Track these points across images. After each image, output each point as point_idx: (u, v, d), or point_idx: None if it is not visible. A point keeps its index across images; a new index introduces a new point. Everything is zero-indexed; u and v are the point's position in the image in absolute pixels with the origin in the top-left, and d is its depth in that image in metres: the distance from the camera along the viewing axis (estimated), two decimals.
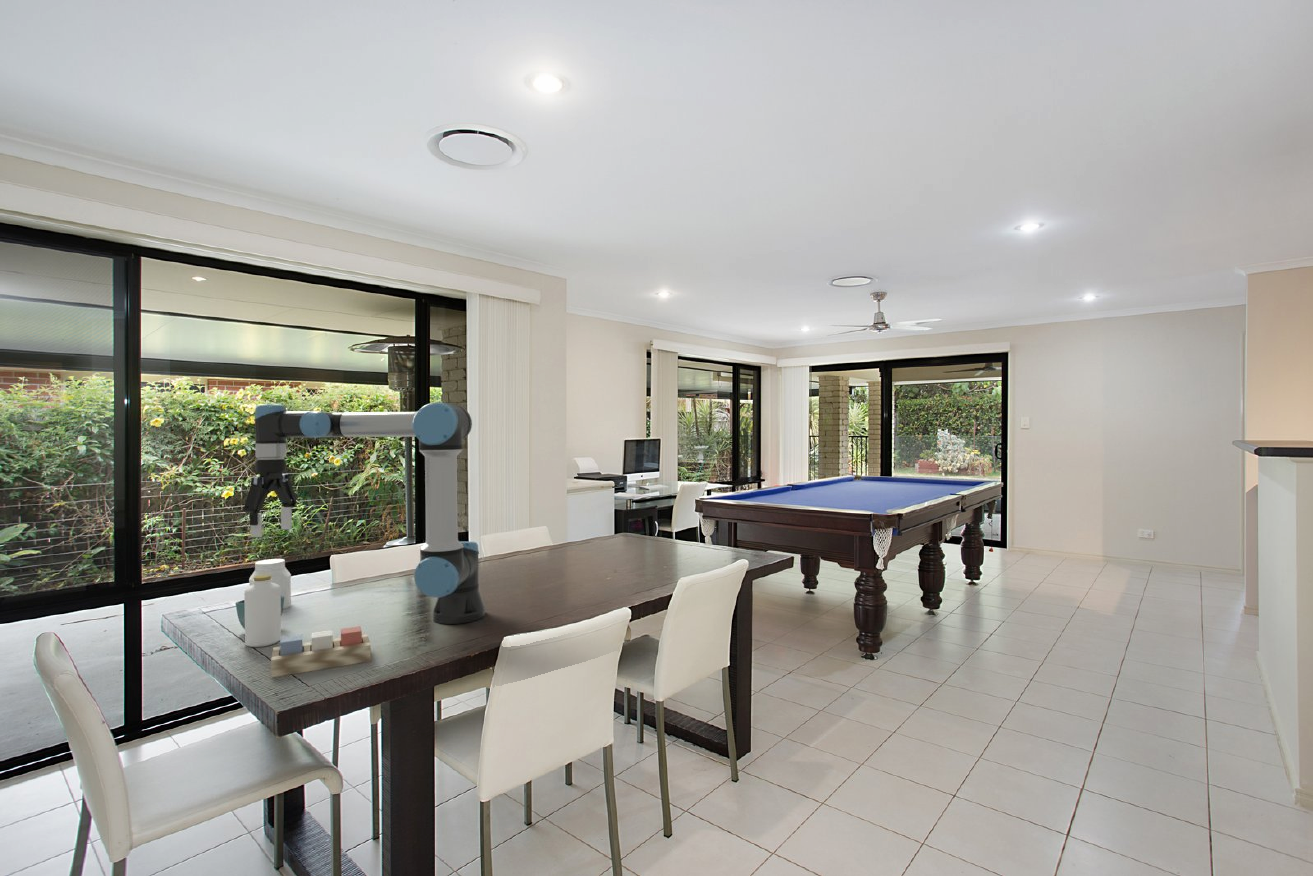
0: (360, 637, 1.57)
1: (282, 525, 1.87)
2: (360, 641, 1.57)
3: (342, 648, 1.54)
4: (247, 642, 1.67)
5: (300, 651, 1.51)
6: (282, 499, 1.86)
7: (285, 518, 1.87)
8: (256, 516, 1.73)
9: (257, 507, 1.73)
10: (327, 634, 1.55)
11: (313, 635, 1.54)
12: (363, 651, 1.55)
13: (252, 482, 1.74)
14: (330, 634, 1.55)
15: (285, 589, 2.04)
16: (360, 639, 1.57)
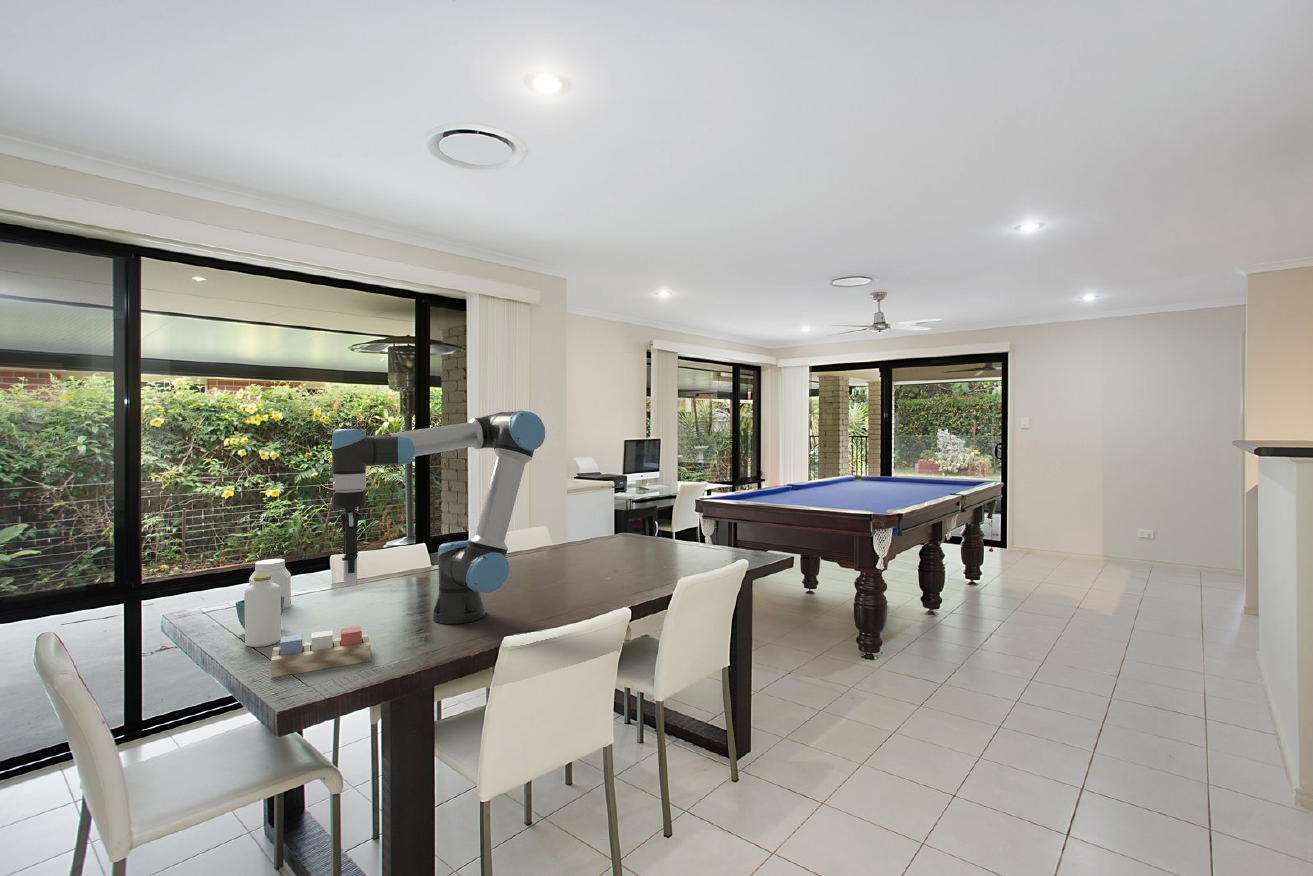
0: (360, 637, 1.57)
1: None
2: (360, 641, 1.57)
3: (342, 648, 1.54)
4: (247, 642, 1.67)
5: (300, 651, 1.51)
6: None
7: None
8: None
9: None
10: (327, 634, 1.55)
11: (313, 635, 1.54)
12: (363, 651, 1.55)
13: (347, 525, 1.52)
14: (330, 634, 1.55)
15: (285, 589, 2.04)
16: (360, 639, 1.57)
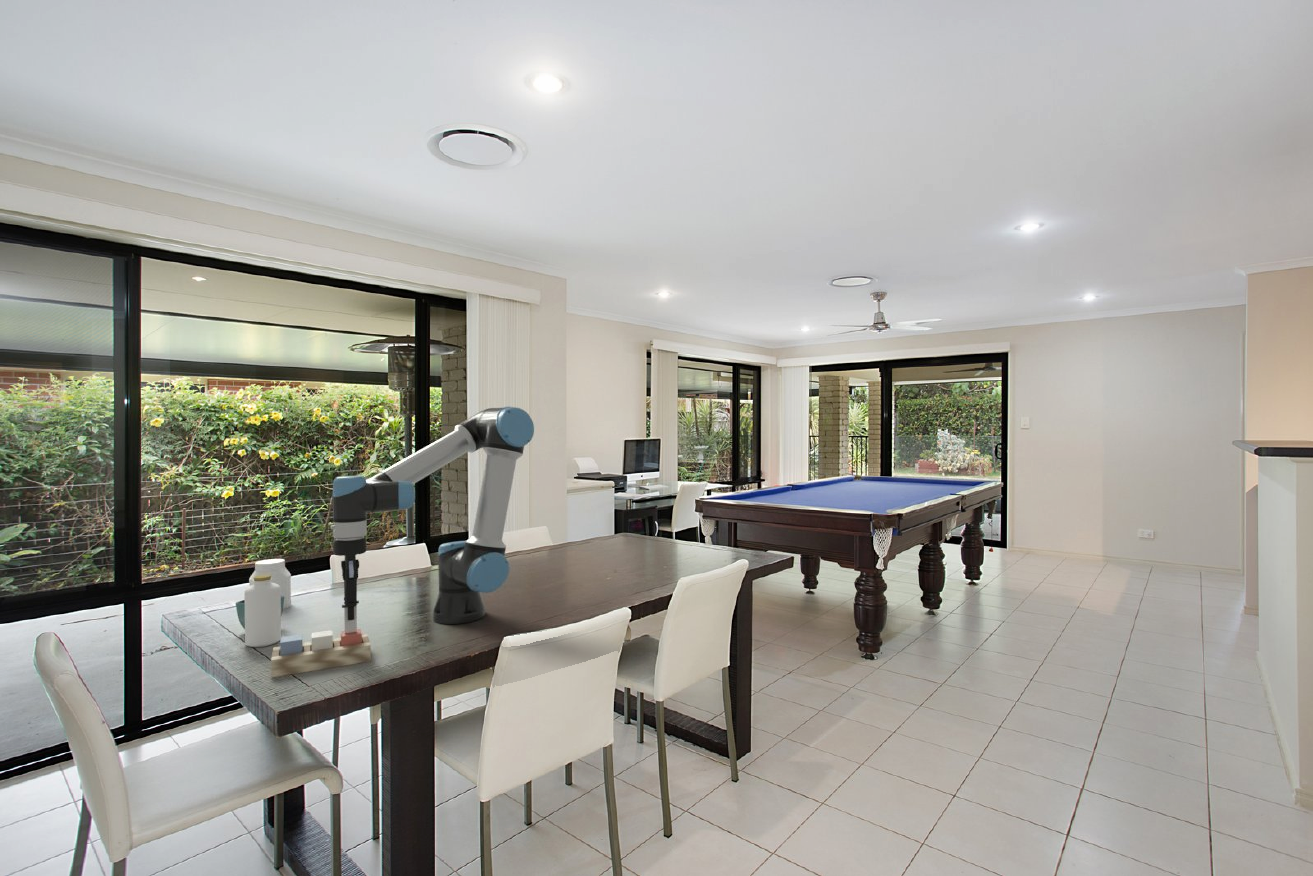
0: (360, 640, 1.58)
1: None
2: None
3: (342, 648, 1.54)
4: (247, 642, 1.67)
5: (300, 651, 1.51)
6: None
7: None
8: (353, 609, 1.58)
9: None
10: (327, 634, 1.55)
11: (313, 635, 1.54)
12: (363, 651, 1.55)
13: (347, 577, 1.53)
14: (330, 634, 1.55)
15: (285, 589, 2.04)
16: (360, 642, 1.58)
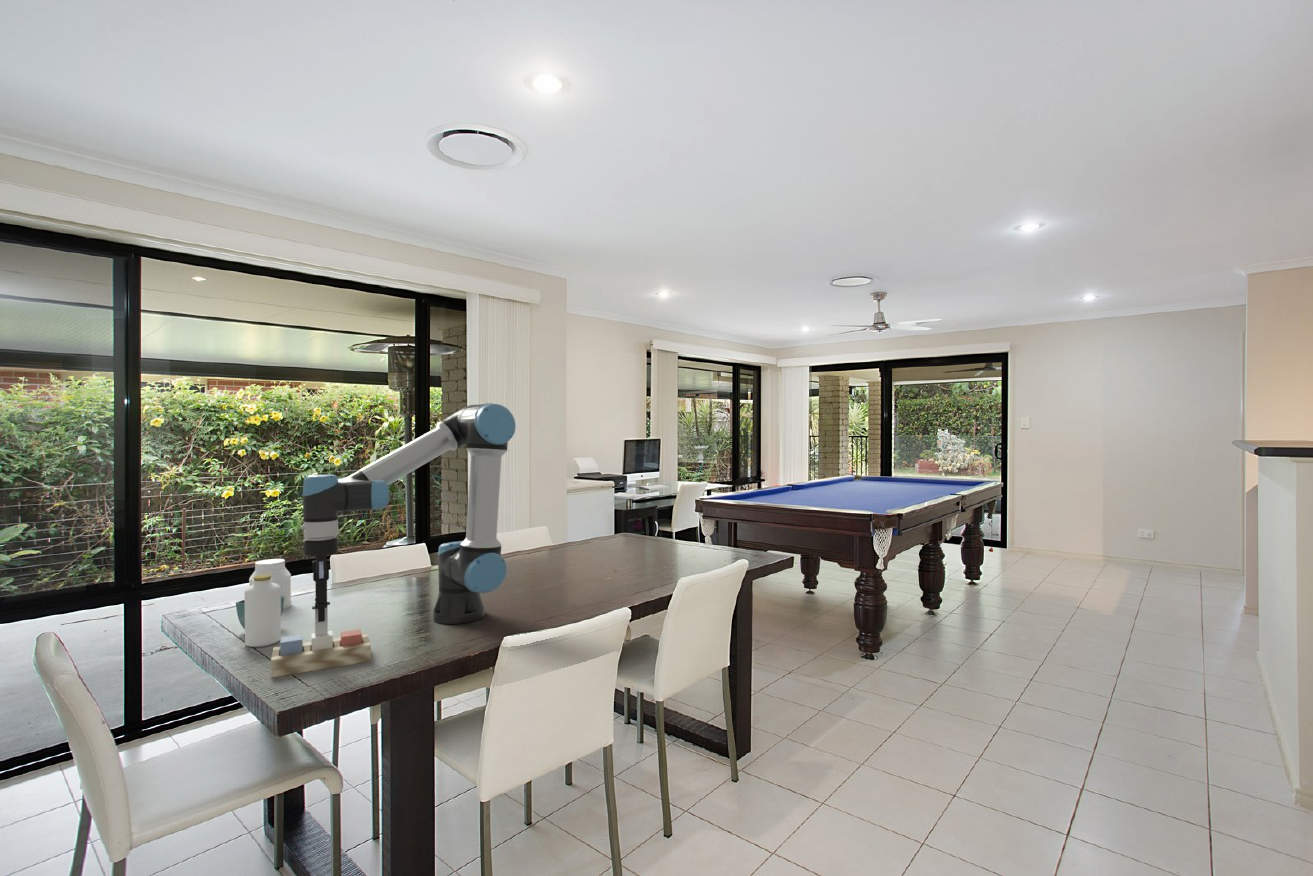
0: (360, 640, 1.58)
1: None
2: None
3: (342, 648, 1.54)
4: (247, 642, 1.67)
5: (300, 651, 1.51)
6: None
7: None
8: (324, 611, 1.54)
9: None
10: (327, 635, 1.55)
11: (313, 636, 1.54)
12: (363, 651, 1.55)
13: (317, 577, 1.50)
14: (330, 634, 1.55)
15: (285, 589, 2.04)
16: (360, 642, 1.58)
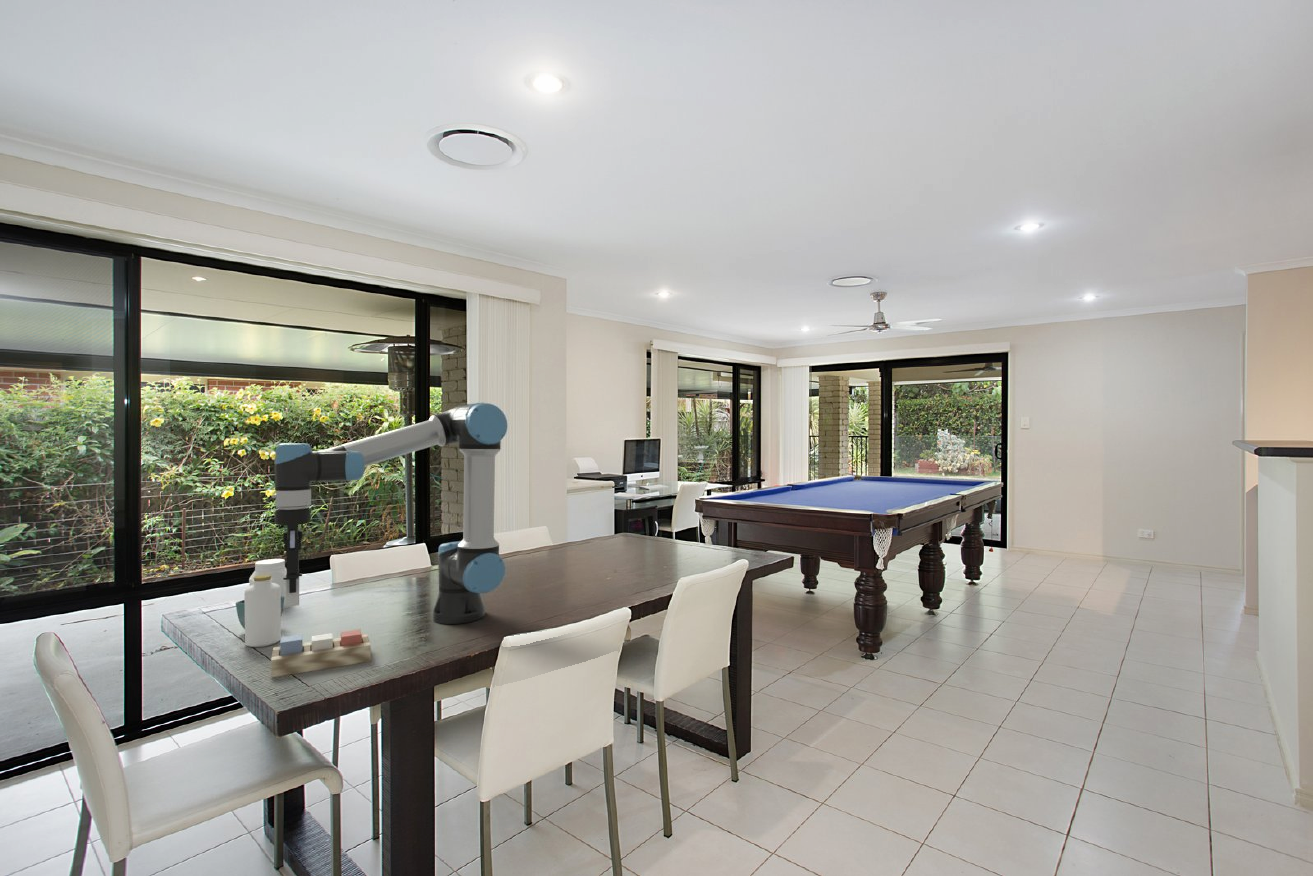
0: (360, 640, 1.58)
1: None
2: None
3: (342, 648, 1.54)
4: (247, 642, 1.67)
5: (300, 651, 1.51)
6: None
7: None
8: (296, 582, 1.51)
9: None
10: (327, 637, 1.55)
11: (313, 638, 1.54)
12: (363, 651, 1.55)
13: (288, 547, 1.47)
14: (330, 637, 1.55)
15: (285, 589, 2.04)
16: (360, 642, 1.58)
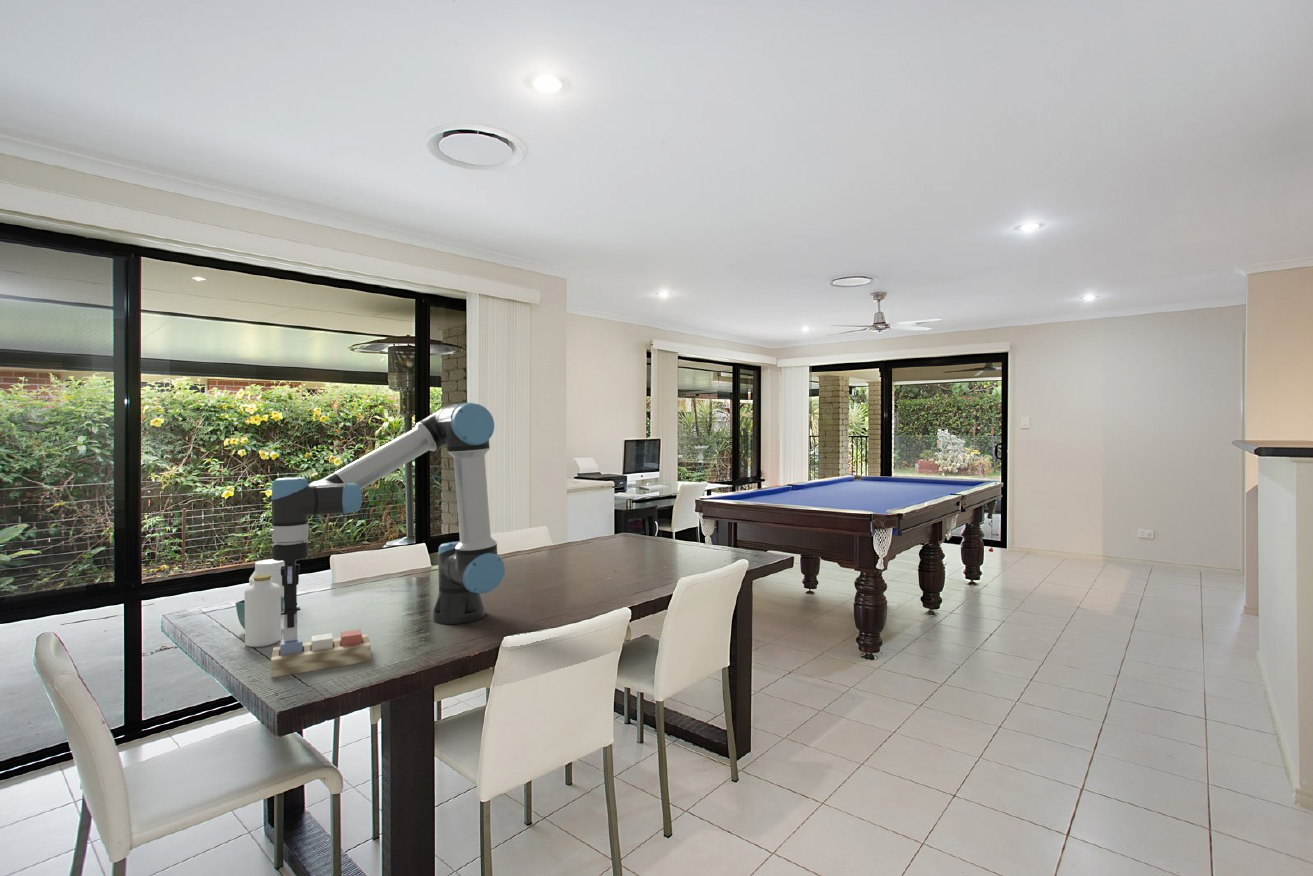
0: (360, 640, 1.58)
1: None
2: None
3: (342, 648, 1.54)
4: (247, 642, 1.67)
5: None
6: None
7: None
8: (294, 616, 1.51)
9: None
10: (327, 637, 1.55)
11: (313, 638, 1.54)
12: (363, 651, 1.55)
13: (285, 583, 1.47)
14: (330, 637, 1.55)
15: None
16: (360, 642, 1.58)
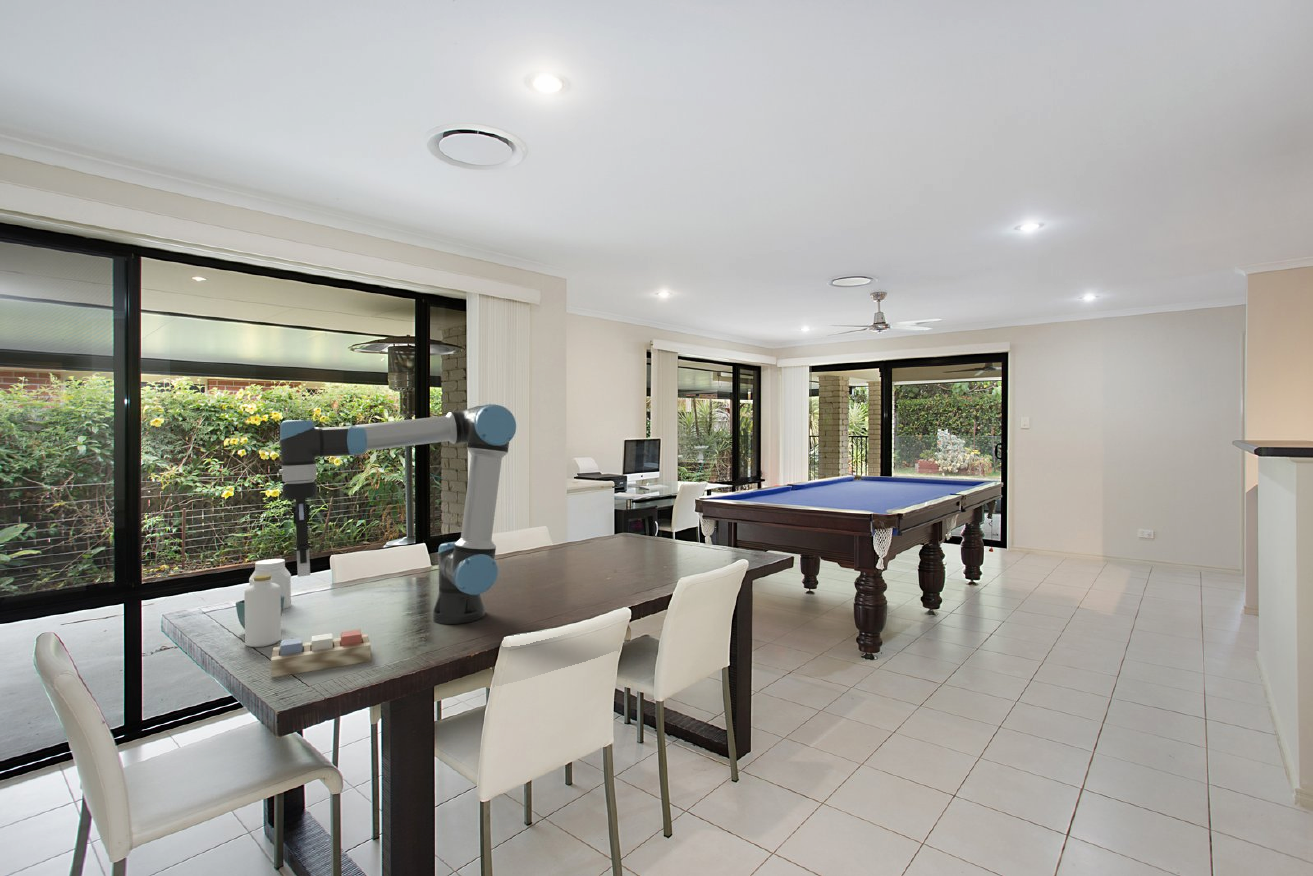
0: (360, 640, 1.58)
1: None
2: None
3: (342, 648, 1.54)
4: (247, 642, 1.67)
5: None
6: None
7: (302, 563, 1.59)
8: (306, 552, 1.58)
9: None
10: (327, 637, 1.55)
11: (313, 638, 1.54)
12: (363, 651, 1.55)
13: (297, 519, 1.53)
14: (330, 637, 1.55)
15: (285, 589, 2.04)
16: (360, 642, 1.58)
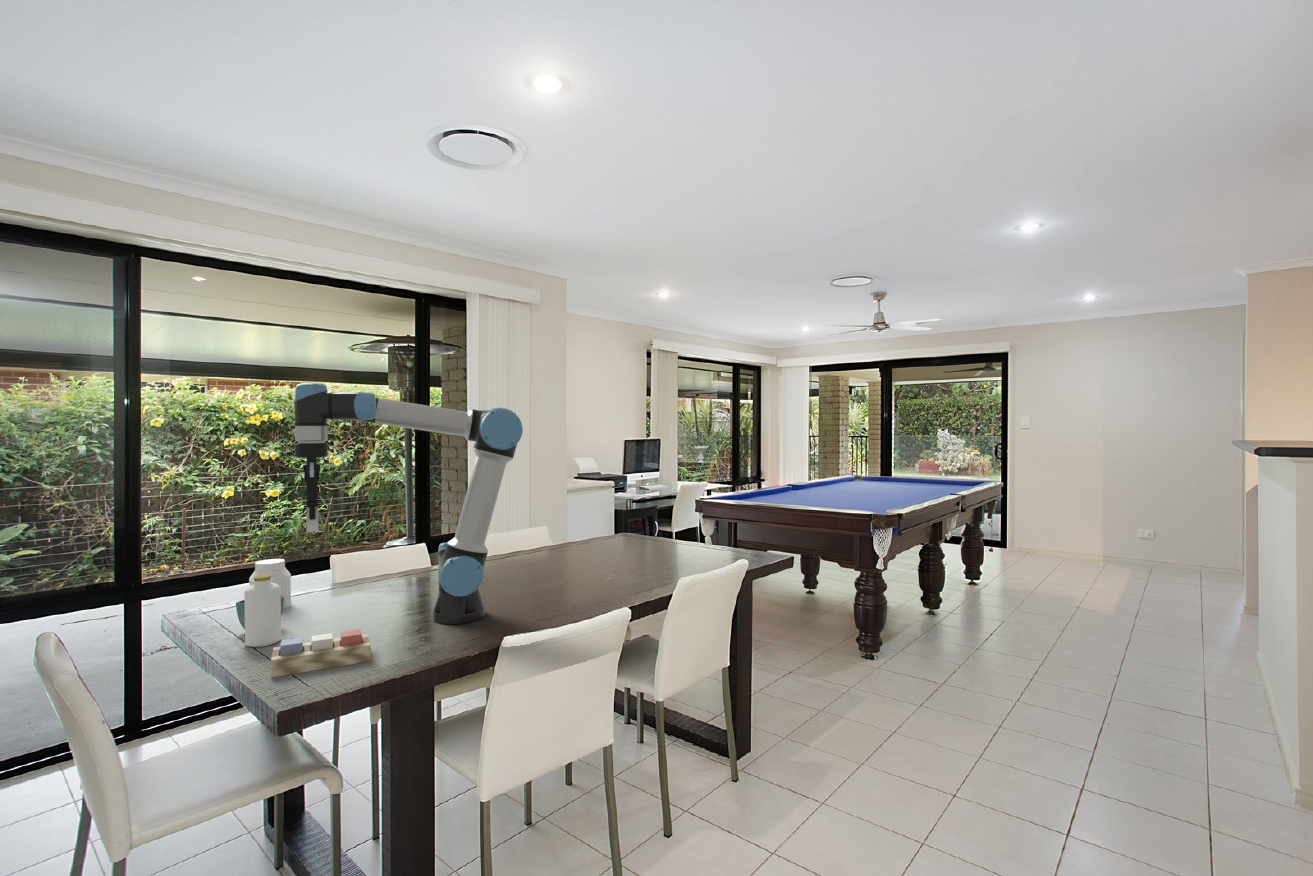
0: (360, 640, 1.58)
1: None
2: None
3: (342, 648, 1.54)
4: (247, 642, 1.67)
5: None
6: None
7: None
8: (315, 509, 1.66)
9: None
10: (327, 637, 1.55)
11: (313, 638, 1.54)
12: (363, 651, 1.55)
13: (308, 476, 1.62)
14: (330, 637, 1.55)
15: (285, 589, 2.04)
16: (360, 642, 1.58)
